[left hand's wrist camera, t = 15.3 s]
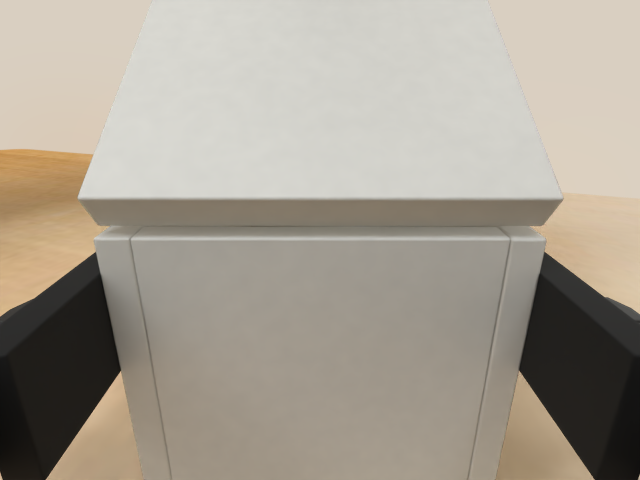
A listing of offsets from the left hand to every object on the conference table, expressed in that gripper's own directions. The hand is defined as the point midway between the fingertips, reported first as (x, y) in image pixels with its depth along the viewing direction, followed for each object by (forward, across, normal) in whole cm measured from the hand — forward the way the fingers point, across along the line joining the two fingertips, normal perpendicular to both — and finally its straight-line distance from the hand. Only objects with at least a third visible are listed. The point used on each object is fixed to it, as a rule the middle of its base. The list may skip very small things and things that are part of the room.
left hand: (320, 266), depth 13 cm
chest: (+5, 0, -6) cm, 8 cm away
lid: (+4, 0, +8) cm, 9 cm away
